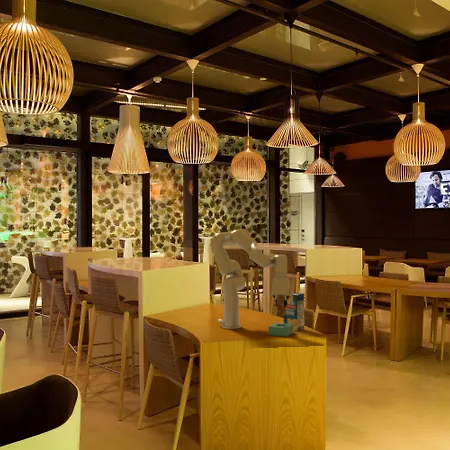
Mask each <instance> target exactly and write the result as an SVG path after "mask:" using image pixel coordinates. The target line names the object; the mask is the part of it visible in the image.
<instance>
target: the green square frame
mask: <svg viewBox="0 0 450 450" xmlns="http://www.w3.org/2000/svg"><path fill="white" fill-rule="evenodd" d="M293 333H294V331H293V324H284V322H274V323H271V324H270V325H269V326H268V336H277V337H287V338H288V337H289V336H291V334H293Z"/></svg>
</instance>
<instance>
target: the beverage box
mask: <svg viewBox="0 0 450 450" xmlns="http://www.w3.org/2000/svg"><path fill="white" fill-rule="evenodd" d="M291 292H292V294H293V295H292V296H291V297H289V298H288V299H287V306H286V315H285V316H283V323H284V324H293V332H294V331H295V332H300V331H304V330H305V293H301V292H293V291H291ZM288 295H290V294H288ZM288 295H287V296H288Z"/></svg>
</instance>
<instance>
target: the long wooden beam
mask: <svg viewBox="0 0 450 450" xmlns="http://www.w3.org/2000/svg"><path fill="white" fill-rule="evenodd" d="M284 299H285V298H284V295H277V307H276V308H277V309H276V311H277V313H276V316H280V317H282V316H283V317H284V316H285V315H286V307H284Z"/></svg>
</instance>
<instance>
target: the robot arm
mask: <svg viewBox="0 0 450 450" xmlns="http://www.w3.org/2000/svg"><path fill="white" fill-rule="evenodd" d="M233 245H237V246H239V247H240V248H242V249H243V250H244V251H245V252H247V254H248V256H249V258H250V259H251V261H253V262H254V263H256V264H257V265H258V266H259V267H261V268H268V267H269V268H270V267H274V272H272V273H271V274H272V277H273V278H272V283H271V284H272V286H271V291H270V293H269V295H270V296H271V297H272V298H274V300H275V305H276V308H277V295H284V298H285V299H284V307H286V306H287V299H288V298H289V297H291V296H292V295H293V294H292V292H293V291H291V285H290V280H289V279H290V278H289V277H288V256H287V255H286V254H274V253H268V254H267V253H266V254H264V253H263V252H262V251H260V250H259V249H258V248H257V246H258V244H257V241H256V240H255V239H253V238H252V235H251V233H250V231H249V230H247V229H244V228H243V229H242V228H241V229H239V228H238V229H235V230H233V231H227V232H226V231H225V232H223V231H222V232H218V233H215V234H214V235H213V236H212V238H211V241H210V249H211V252H212V253H213V257H214V259H215V263H216V265H217V268H218V271H219V274H221V276H227V277H226V278H224V280H223V281H222V286H221V287H222V288H221V289H222V293H223V319H218V320H217V322H218V324H221V328H222V329H225V330H233V329H234V330H235V329H236V330H238V329H241V328H242V324H241V323H240V296H239V293H238V291H241V290H244V288H245V287H246V279H245V276H244V273H243V270H242V267H241V265H240V263H239V262H238V261H237V260H235V259H231V258H230V256H229V254H228V251H227V250H226V248H225V247H227V246H233ZM224 246H225V247H224ZM288 294H290V295H288ZM287 295H288V296H287Z"/></svg>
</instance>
